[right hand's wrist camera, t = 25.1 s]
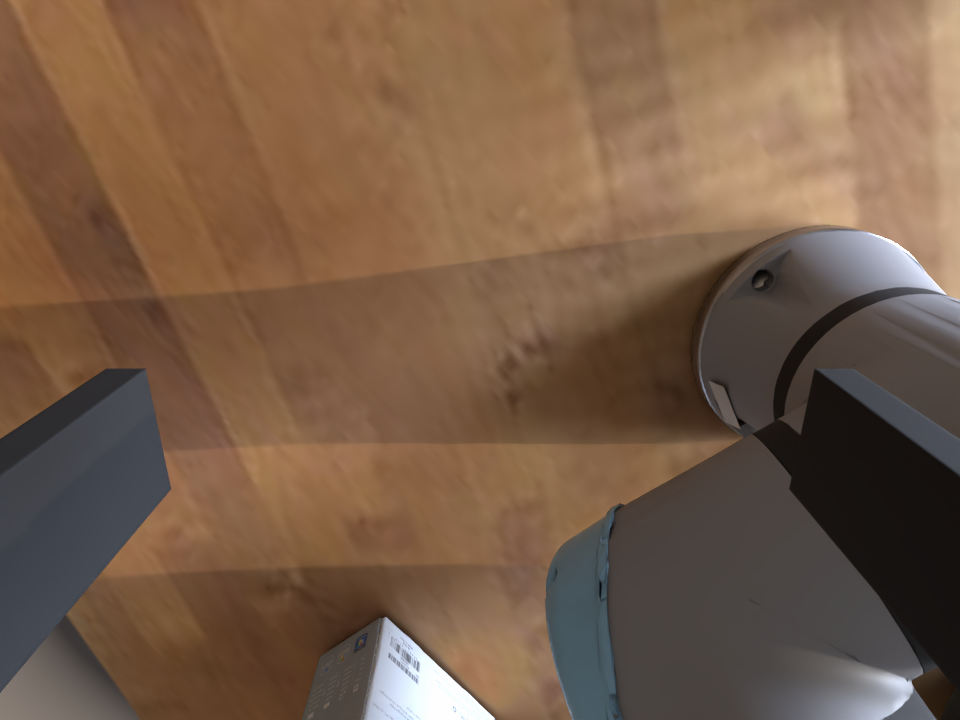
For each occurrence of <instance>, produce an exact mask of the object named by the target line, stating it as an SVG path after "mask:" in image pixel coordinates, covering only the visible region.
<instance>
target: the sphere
mask: <svg viewBox="0 0 960 720" xmlns="http://www.w3.org/2000/svg"><path fill="white" fill-rule="evenodd" d="M940 720H960V692H959V691H958V690H957V689H956V688H955V690H954V692H953V693H952V695H951V697H950V699H949V701H948V703H947V704H946V707H945V709H944V712H943V714H942V717H941V719H940Z"/></svg>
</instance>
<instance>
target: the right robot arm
mask: <svg viewBox="0 0 960 720" xmlns="http://www.w3.org/2000/svg"><path fill="white" fill-rule="evenodd" d="M691 358H692V367H693V372H694V376H695V379H696V382H697V385H698V387H699V389H700V391H701V393H702V395H703V397H704V398H705V400H706V401H707V403H708V404H709V405H710V407H711V408H712V409H713V410H714V412H715V413H716V414H717V415H718V416H719V418H720V419H721V420H722V421H723V422H724V423H725V424H726V425H727V426H728V427H729V428H730V429H732V430H733V431H734V432H736V433H737V434H739V435H740V436H742V437H744V438H743V439H741V440H740V441H738V442H736V443H734V444H733V445H731V446H729V447H728V448H726V449H724V450H722V451H721V452H719V453H717V454H716V455H714V456H712V457H710V458H709V459H707V460H705V461H703V462H701V463H700V464H698V465H696V466H694V467H693V468H691V469H689V470H687V471H685V472H684V473H682V474H680V475H678V476H676V477H675V478H673V479H671V480H669V481H667V482H666V483H664V484H662V485H660V486H658V487H657V488H655V489H653V490H651V491H649V492H648V493H646V494H644V495H642V496H641V497H639V498H637V499H635V500H633V501H632V502H630V503H628V504H626V505H623V504H618V505H616V506H614V507H612V508H611V509H610V510H609V511H608V512H607V515H606V516H605V517H604V518H602V519H601V520H599V521H598V522H596V523H594V524H593V525H591V526H590V527H588V528H587V529H585V530H584V531H582V532H580V533H579V534H577V535H576V536H574V537H573V538H571V539H569V540H568V541H567V542H565V543H564V544H563V545H562V546H561V547H560V548H559V549H558V551H557V552H556V554H555V555H554V557H553V559H552V561H551V564H550V567H549V570H548V575H547V579H546V599H545V606H546V620H547V628H548V634H549V640H550V645H551V650H552V655H553V659H554V663H555V667H556V671H557V675H558V678H559V682H560V685H561V688H562V691H563V694H564V697H565V700H566V703H567V706H568V709H569V712H570V714H571V717H572V720H937V719H936V718H935V717H934V716H933V714H932V713H931V711H930V710H929V709H928V707H927V706H926V704H925V703H924V701H923V700H922V699H921V697H920V696H919V694H918V693H917V692H916V690H915V689H914V687H913V685H912V683H911V682H912V680H913V679H915V678H917V677H918V676H920V675H922V674H925V673H926V672H928V671H930V670H932V669H935V668H937V667H939V668H940V670H941V671H942V672H943V673H944V674H945V676H946V677H947V678H948V679H949V680H950V682H951V683H952V684H953V685H954V686H955V687H956V689H957V690H958V691H959V692H960V300H958V299H955V298H953V297H950V296H947V295H946V294H945V293H944V292H943V291H942V289H941V288H940V287H939V286H938V285H937V284H936V283H935V282H934V281H933V280H932V279H931V278H930V277H929V276H928V275H927V273H926V272H925V270H924V269H923V268H922V266H921V265H920V264H919V263H918V262H917V260H916V259H915V258H914V257H913V256H911V255H910V254H909V253H908V252H907V251H906V250H904V249H903V248H902V247H900V246H899V245H897V244H895V243H894V242H892V241H890V240H888V239H886V238H883V237H880V236H878V235H875V234H871V233H868V232H864V231H861V230H857V229H853V228H849V227H843V226H830V225H824V226H812V227H805V228H800V229H796V230H792V231H789V232H786V233H783V234H780V235H778V236H775V237H773V238H771V239H769V240H767V241H765V242H763V243H761V244H759V245H757V246H756V247H754V248H753V249H751V250H750V251H748V252H747V253H746V254H744V255H743V256H742V257H741V258H739V259H738V260H737V261H736V262H735V263H734V264H732V265H731V266H730V267H729V268H728V269H727V270H726V271H725V273H724V274H723V275H722V276H721V277H720V278H719V280H718V281H717V282H716V284H715V285H714V286H713V288H712V289H711V291H710V292H709V294H708V296H707V297H706V299H705V301H704V303H703V305H702V307H701V309H700V312H699V314H698V317H697V320H696V323H695V327H694V331H693V337H692V346H691ZM170 490H171V487H170V482H169V477H168V472H167V468H166V463H165V458H164V454H163V449H162V444H161V439H160V435H159V430H158V425H157V420H156V416H155V411H154V406H153V402H152V397H151V392H150V387H149V383H148V378H147V373H146V369H105V370H104V371H102V372H101V373H99V374H98V375H96V376H95V377H93V378H92V379H90V380H89V381H87V382H86V383H84V384H83V385H81V386H80V387H78V388H77V389H75V390H74V391H72V392H71V393H69V394H68V395H66V396H65V397H63V398H62V399H60V400H59V401H57V402H56V403H54V404H53V405H51V406H50V407H48V408H47V409H45V410H44V411H42V412H41V413H39V414H38V415H36V416H34V417H33V418H31V419H30V420H28V421H27V422H25V423H24V424H22V425H21V426H19V427H18V428H16V429H15V430H13V431H12V432H10V433H9V434H7V435H6V436H4V437H3V438H1V439H0V692H1V691H2V690H3V689H4V687H5V686H6V685H7V684H8V683H9V682H10V680H11V679H12V678H13V677H14V676H15V674H16V673H17V672H18V671H19V670H20V668H21V667H22V666H23V665H24V664H25V662H26V661H27V660H28V659H29V658H30V657H31V655H32V654H33V653H34V652H35V651H36V649H37V648H38V647H39V646H40V645H41V643H42V642H43V641H44V640H45V639H46V637H47V636H48V635H49V634H50V633H51V631H52V630H53V629H54V628H55V627H56V625H57V624H58V623H59V622H60V621H61V620H62V618H63V617H64V616H65V615H66V614H67V612H68V611H69V610H70V609H71V608H72V606H73V605H74V604H75V603H76V602H77V601H78V599H79V598H80V597H81V596H82V595H83V593H84V592H85V591H86V590H87V589H88V587H89V586H90V585H91V584H92V583H93V581H94V580H95V579H96V578H97V577H98V575H99V574H100V573H101V572H102V571H103V570H104V568H105V567H106V566H107V565H108V564H109V562H110V561H111V560H112V559H113V558H114V556H115V555H116V554H117V553H118V552H119V550H120V549H121V548H122V547H123V546H124V544H125V543H126V542H127V541H128V540H129V539H130V537H131V536H132V535H133V534H134V533H135V531H136V530H137V529H138V528H139V527H140V525H141V524H142V523H143V522H144V521H145V519H146V518H147V517H148V516H149V515H150V514H151V512H152V511H153V510H154V509H155V508H156V506H157V505H158V504H159V503H160V502H161V500H162V499H163V498H164V497H165V496H166V494H167V493H168V492H169V491H170Z"/></svg>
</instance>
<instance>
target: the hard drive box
mask: <svg viewBox="0 0 960 720" xmlns="http://www.w3.org/2000/svg"><path fill="white" fill-rule="evenodd" d="M302 720H495V718H494V717H493V716H492V715H491V714H489V713H488V712H487V711H486V710H485V709H484V708H483V707H482V706H481V705H480V704H479V703H478V702H477V701H476V700H475V699H474V698H473V697H472V696H471V695H470V694H469V693H468V692H467V691H466V690H464V689H463V688H461V687H460V686H459V685H458V684H457V683H456V682H455V681H454V680H453V679H452V678H451V677H450V676H449V675H448V674H447V673H446V672H445V671H444V670H443V669H441V668H440V667H439V666H438V665H437V664H436V663H435V662H434V661H433V660H432V659H431V658H430V657H429V656H428V655H427V654H425V653H424V652H423V651H422V650H421V648H420V647H419V646H418V645H416V644H415V643H414V642H413V641H412V640H411V639H410V638H409V637H408V636H407V635H405V634H404V633H403V632H402V631H401V630H400V629H399V628H398V627H396V626H395V625H394V624H393V623H392V622H391V621H390V620H389V619H388V618H387V617H384V618H378V619H377V620H375V621H374V622H372V623H370V624H369V625H368V626H366V627H365V628H363V629H361V630H360V631H358V632H357V633H355V634H354V635H352V636H351V637H349V638H348V639H346V640H345V641H343V642H342V643H340V644H338V645H337V646H335V647H334V648H332V649H331V650H329V651H328V652H326V653H325V654H323V655H322V656H320V658H319V661H318V665H317V668H316V672H315V675H314V679H313V682H312V686H311V689H310V693H309V697H308V700H307V703H306V707H305V710H304V714H303V717H302Z"/></svg>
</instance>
